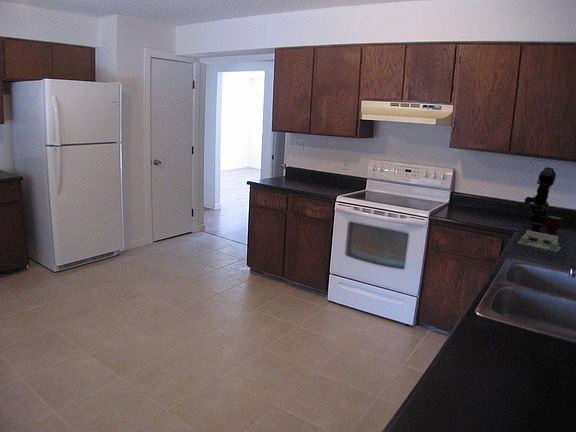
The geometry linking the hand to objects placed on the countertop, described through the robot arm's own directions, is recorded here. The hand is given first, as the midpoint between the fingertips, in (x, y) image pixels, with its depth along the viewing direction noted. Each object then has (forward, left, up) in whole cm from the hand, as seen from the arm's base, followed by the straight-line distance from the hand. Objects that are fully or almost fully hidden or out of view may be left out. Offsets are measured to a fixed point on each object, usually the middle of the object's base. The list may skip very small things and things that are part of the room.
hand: (536, 219), depth 273 cm
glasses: (+14, +6, -8) cm, 17 cm away
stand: (+14, +6, -12) cm, 19 cm away
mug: (-34, +4, -12) cm, 36 cm away
